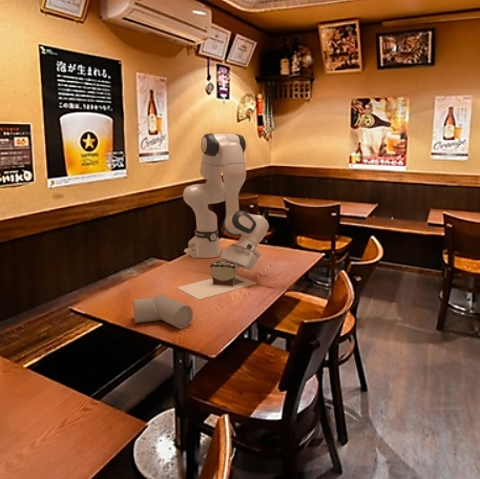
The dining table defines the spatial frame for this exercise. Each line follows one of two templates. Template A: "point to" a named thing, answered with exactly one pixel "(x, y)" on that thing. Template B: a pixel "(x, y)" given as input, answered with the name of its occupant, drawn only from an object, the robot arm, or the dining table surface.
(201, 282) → the board
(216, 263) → the food container
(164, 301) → the l-shaped cylinder
